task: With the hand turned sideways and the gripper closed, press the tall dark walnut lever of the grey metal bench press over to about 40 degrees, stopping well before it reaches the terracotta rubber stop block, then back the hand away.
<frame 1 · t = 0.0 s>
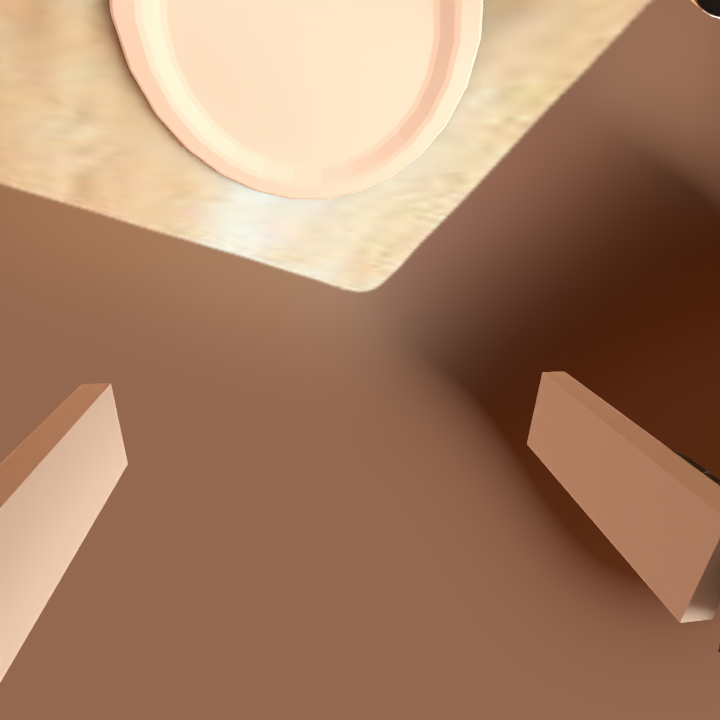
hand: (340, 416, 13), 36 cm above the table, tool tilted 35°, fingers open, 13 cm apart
plate: (305, 43, 37), on the table
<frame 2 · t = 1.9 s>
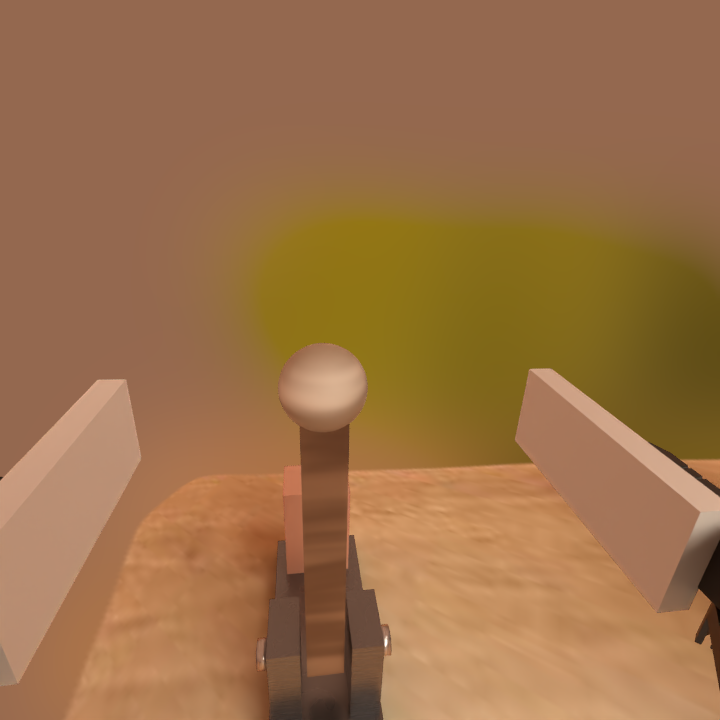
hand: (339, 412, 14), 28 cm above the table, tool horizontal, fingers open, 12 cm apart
lever: (323, 528, 25), point 16 cm above the table, hinge at 0.0°
stop block: (316, 554, 42), resting on press base
press base: (324, 701, 32), on the table
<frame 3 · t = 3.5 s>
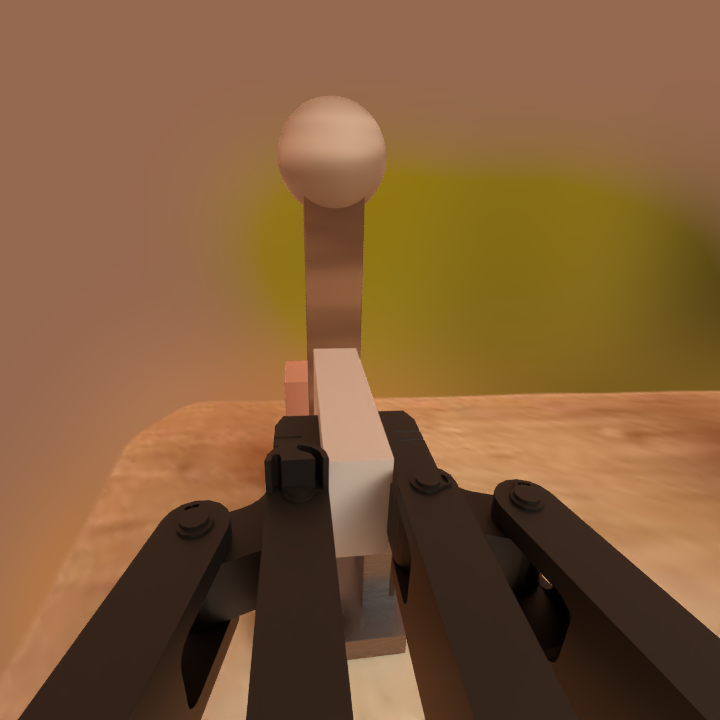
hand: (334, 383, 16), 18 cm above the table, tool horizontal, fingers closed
lever: (332, 363, 21), point 16 cm above the table, hinge at 0.0°
stop block: (321, 463, 38), resting on press base
press base: (332, 596, 28), on the table
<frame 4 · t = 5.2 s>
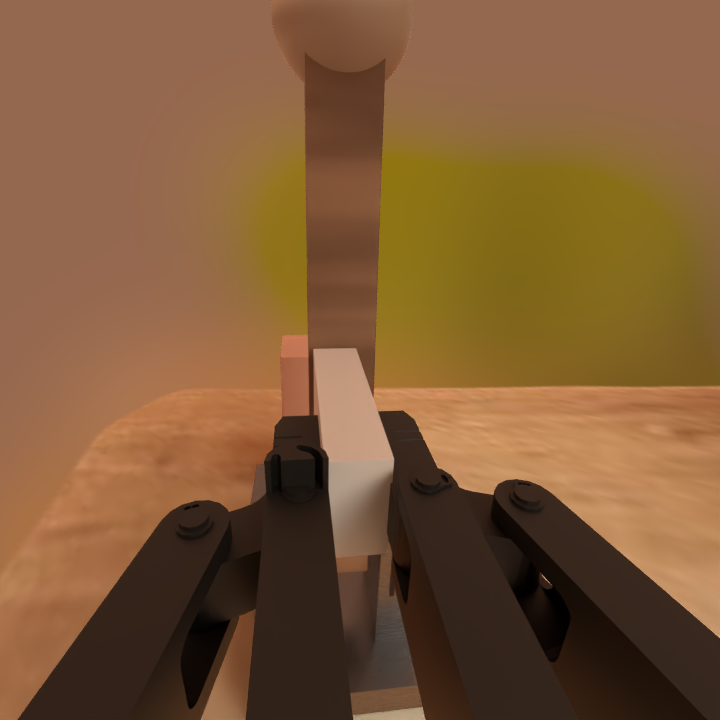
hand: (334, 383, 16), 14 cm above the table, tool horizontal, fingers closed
lever: (339, 306, 16), point 16 cm above the table, hinge at 5.3°, touching gripper
stop block: (324, 458, 32), resting on press base
press base: (335, 625, 22), on the table
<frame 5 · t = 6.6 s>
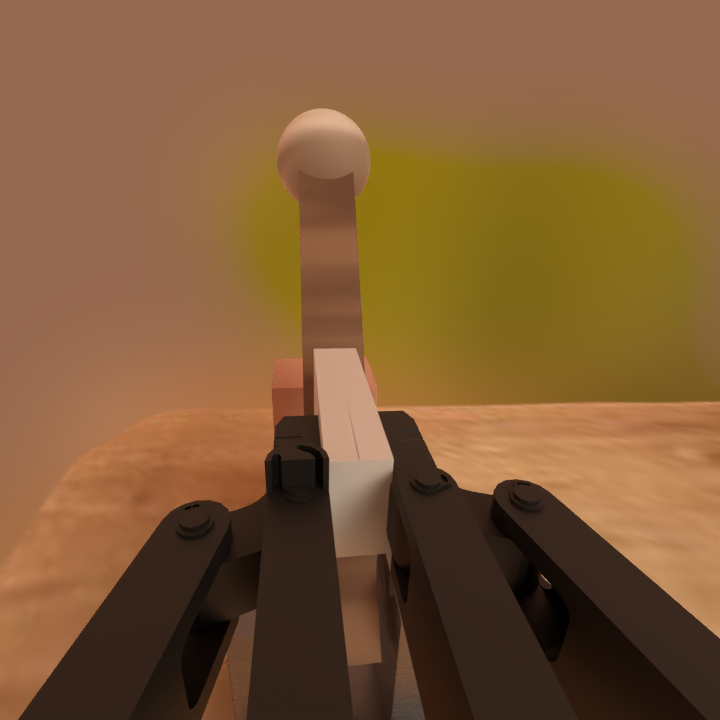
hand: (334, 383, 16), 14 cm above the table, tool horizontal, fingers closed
lever: (331, 347, 18), point 14 cm above the table, hinge at 37.6°, touching gripper
stop block: (323, 496, 28), resting on press base
press base: (339, 719, 18), on the table
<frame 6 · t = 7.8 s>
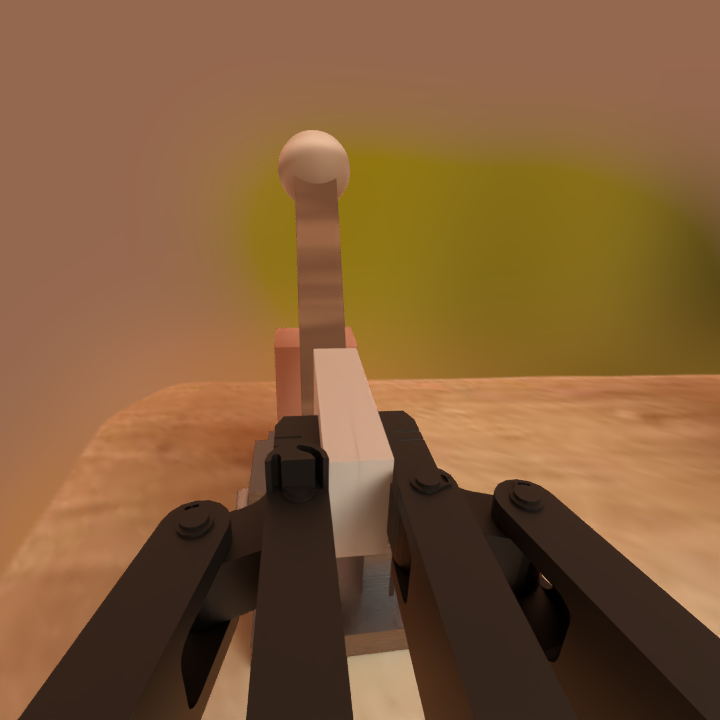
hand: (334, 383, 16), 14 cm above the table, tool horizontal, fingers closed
lever: (320, 309, 25), point 14 cm above the table, hinge at 37.7°
stop block: (316, 442, 35), resting on press base
press base: (327, 585, 24), on the table
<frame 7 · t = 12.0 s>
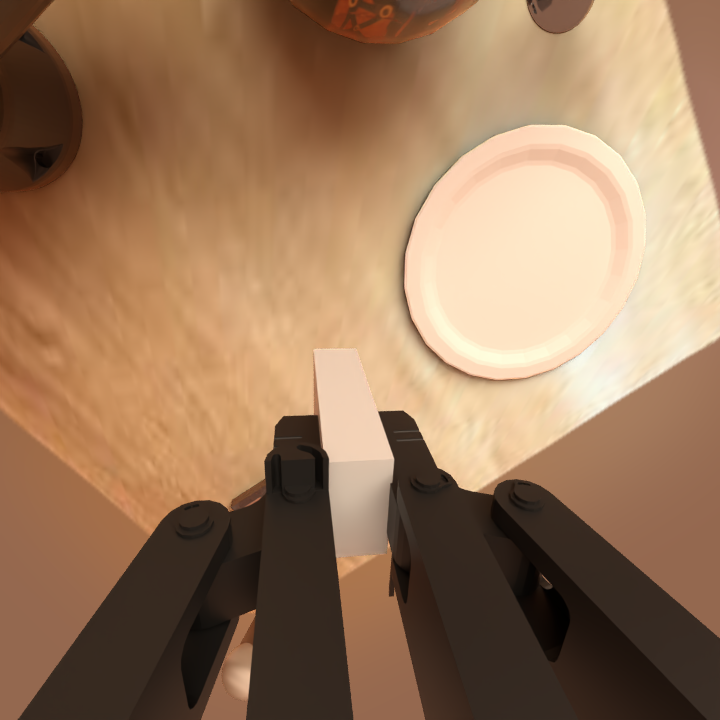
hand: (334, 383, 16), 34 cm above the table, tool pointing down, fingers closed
plate: (520, 263, 52), on the table
lever: (295, 575, 46), point 14 cm above the table, hinge at 37.7°
press base: (333, 464, 59), on the table
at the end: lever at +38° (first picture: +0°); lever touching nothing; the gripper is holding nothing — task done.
